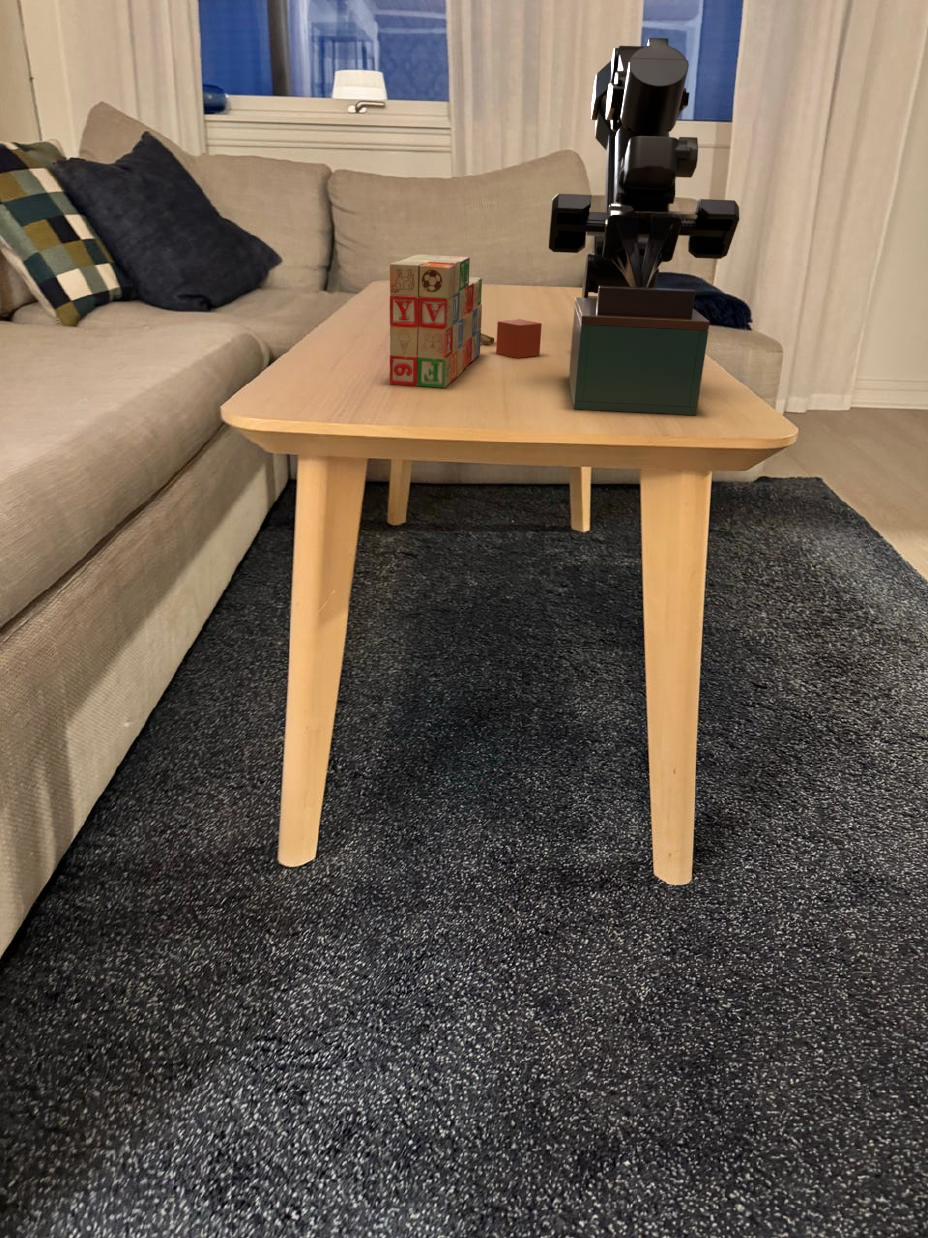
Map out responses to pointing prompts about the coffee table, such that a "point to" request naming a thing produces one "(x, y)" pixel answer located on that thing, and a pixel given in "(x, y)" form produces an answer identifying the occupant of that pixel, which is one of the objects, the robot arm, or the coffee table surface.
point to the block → (518, 338)
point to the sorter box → (636, 368)
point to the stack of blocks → (433, 319)
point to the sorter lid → (641, 308)
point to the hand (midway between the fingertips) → (640, 292)
